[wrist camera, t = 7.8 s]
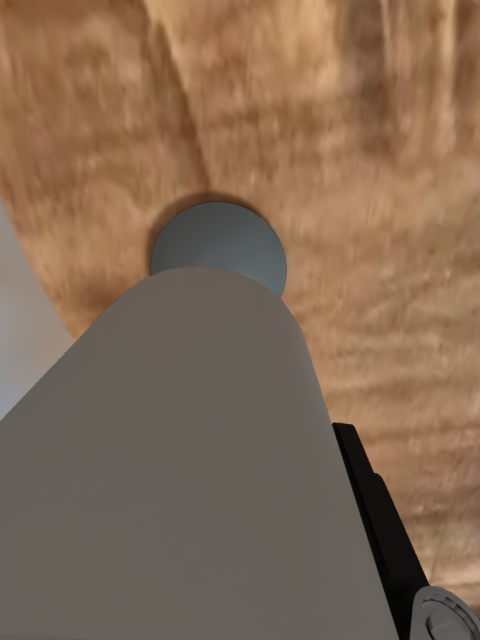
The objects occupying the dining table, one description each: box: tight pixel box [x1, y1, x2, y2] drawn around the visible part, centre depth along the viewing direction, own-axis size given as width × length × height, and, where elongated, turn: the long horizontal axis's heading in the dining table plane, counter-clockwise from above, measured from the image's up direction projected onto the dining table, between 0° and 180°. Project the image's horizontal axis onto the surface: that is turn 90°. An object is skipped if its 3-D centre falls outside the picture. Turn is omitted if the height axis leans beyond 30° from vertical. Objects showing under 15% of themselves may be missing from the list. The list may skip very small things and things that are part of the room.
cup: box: [0, 265, 399, 640], centre depth 8 cm, size 7×10×9 cm
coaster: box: [151, 202, 287, 298], centre depth 24 cm, size 10×10×1 cm
